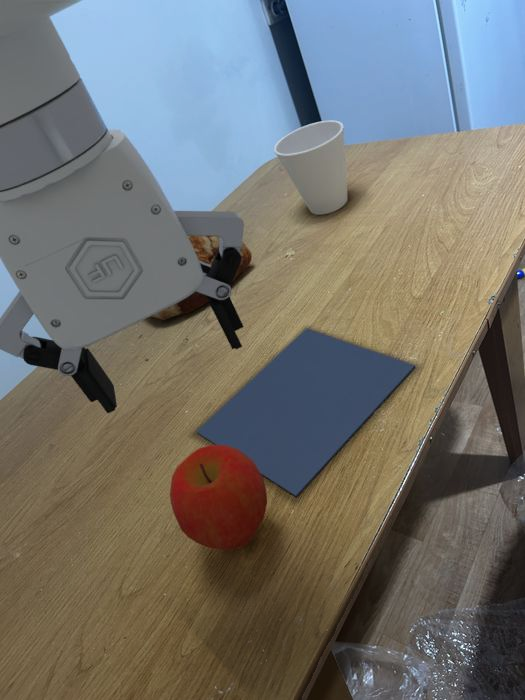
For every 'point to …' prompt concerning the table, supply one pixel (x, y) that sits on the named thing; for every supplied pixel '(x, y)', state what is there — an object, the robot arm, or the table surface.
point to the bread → (206, 253)
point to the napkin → (305, 407)
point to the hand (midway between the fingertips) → (172, 369)
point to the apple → (218, 497)
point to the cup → (316, 164)
